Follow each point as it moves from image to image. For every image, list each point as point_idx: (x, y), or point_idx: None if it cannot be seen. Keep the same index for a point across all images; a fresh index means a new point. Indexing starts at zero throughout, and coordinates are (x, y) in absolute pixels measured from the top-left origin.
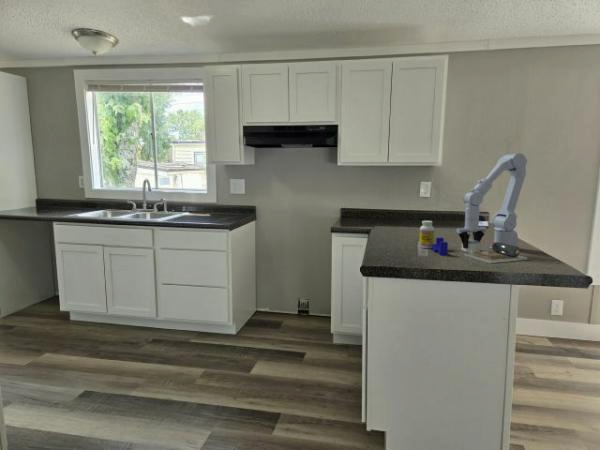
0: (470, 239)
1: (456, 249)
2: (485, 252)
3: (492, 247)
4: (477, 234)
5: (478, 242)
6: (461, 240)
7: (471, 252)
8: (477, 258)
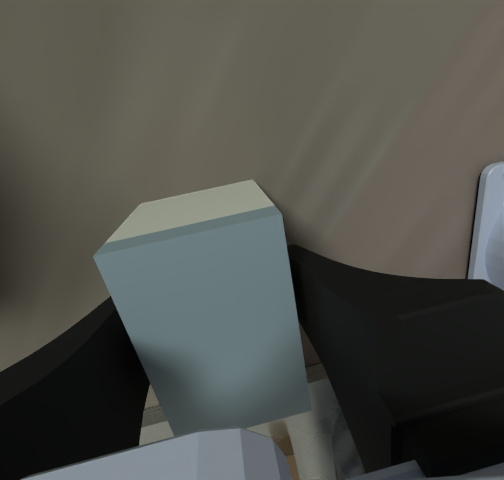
0: (263, 261)
1: (83, 172)
2: (264, 424)
3: (335, 460)
4: (366, 434)
5: (277, 408)
6: (55, 341)
7: (147, 427)
8: None
